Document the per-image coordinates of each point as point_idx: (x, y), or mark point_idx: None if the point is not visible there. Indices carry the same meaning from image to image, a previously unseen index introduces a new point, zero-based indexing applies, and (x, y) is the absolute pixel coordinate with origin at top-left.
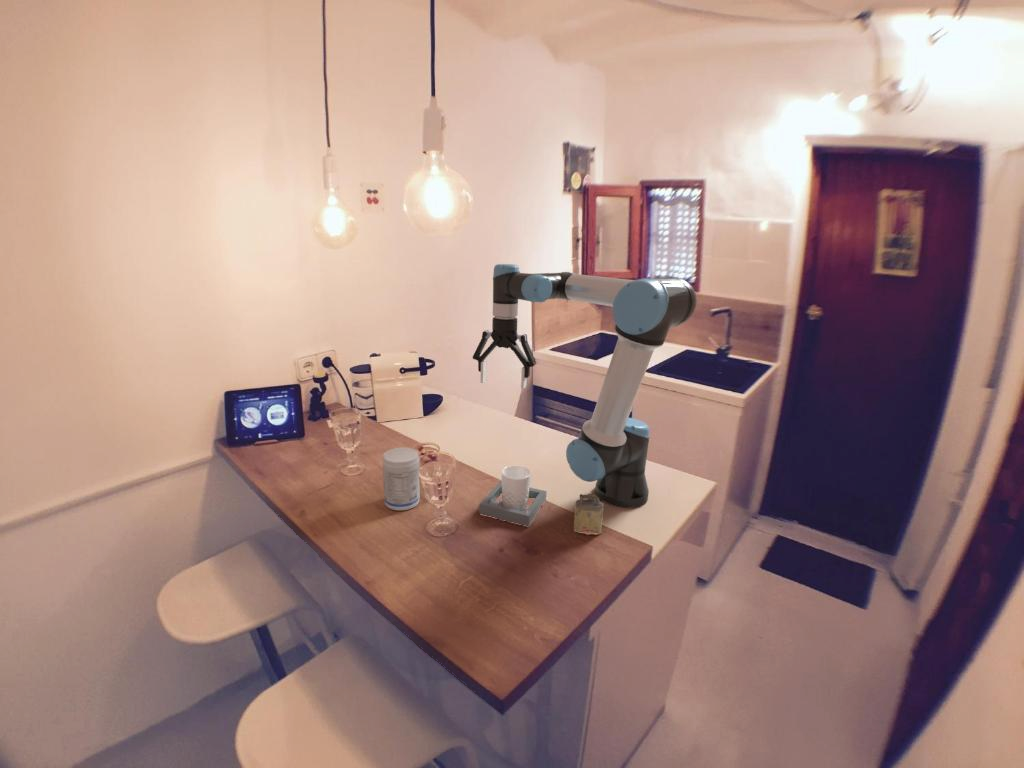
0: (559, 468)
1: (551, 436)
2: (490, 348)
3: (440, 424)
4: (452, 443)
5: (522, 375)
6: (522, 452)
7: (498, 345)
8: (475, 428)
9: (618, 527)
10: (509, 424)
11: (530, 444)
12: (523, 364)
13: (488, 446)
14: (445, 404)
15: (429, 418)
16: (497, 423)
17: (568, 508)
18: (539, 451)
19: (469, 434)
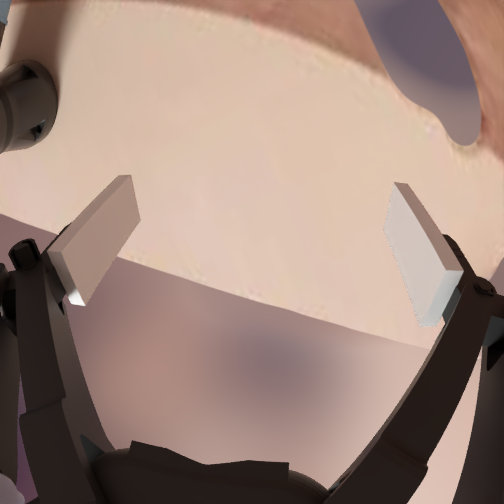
0: (139, 134)
1: (220, 273)
2: (413, 425)
3: (466, 250)
4: (426, 164)
5: (84, 216)
6: (247, 174)
7: (282, 488)
8: None
9: (9, 14)
10: (327, 297)
11: (246, 221)
12: (37, 273)
13: (339, 176)
14: None
15: (487, 268)
16: (353, 293)
17: (73, 3)
18: (212, 195)
19: None
